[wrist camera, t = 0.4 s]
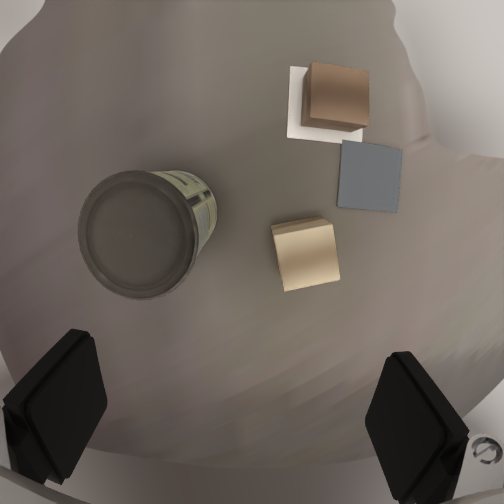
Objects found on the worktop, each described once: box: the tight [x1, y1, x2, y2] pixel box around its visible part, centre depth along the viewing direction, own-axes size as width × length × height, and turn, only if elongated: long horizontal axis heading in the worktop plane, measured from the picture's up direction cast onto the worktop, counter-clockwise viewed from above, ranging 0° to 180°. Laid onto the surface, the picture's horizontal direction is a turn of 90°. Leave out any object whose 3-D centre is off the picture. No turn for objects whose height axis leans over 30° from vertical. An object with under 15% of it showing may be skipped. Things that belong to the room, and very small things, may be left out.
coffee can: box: [78, 170, 217, 300], centre depth 29 cm, size 10×10×14 cm
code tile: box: [287, 66, 363, 144], centre depth 32 cm, size 9×9×1 cm
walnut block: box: [301, 62, 369, 132], centre depth 29 cm, size 6×6×6 cm
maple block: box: [271, 216, 340, 291], centre depth 34 cm, size 6×6×6 cm
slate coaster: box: [337, 139, 402, 213], centre depth 35 cm, size 8×8×1 cm
